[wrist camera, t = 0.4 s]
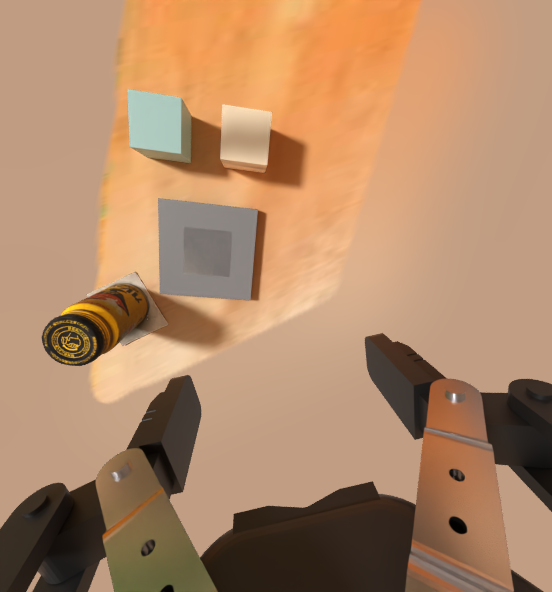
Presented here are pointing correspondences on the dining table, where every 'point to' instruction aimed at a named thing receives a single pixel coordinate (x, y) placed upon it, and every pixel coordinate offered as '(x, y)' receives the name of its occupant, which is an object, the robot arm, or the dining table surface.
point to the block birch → (245, 138)
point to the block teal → (159, 126)
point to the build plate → (206, 249)
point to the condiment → (102, 322)
